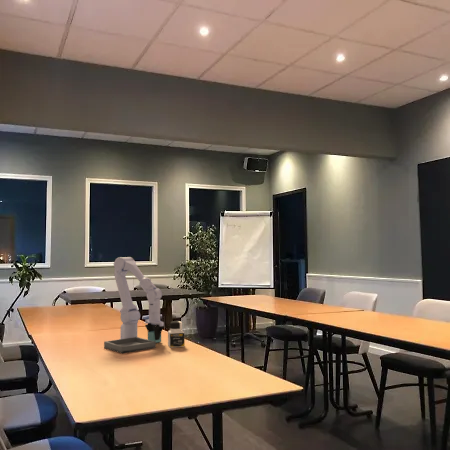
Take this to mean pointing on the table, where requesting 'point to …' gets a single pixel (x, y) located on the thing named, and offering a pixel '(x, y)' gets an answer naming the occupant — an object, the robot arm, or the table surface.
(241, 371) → the table surface
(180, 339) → the medicine bottle
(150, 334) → the teal block
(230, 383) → the table surface
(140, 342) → the charcoal tray
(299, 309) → the table surface
